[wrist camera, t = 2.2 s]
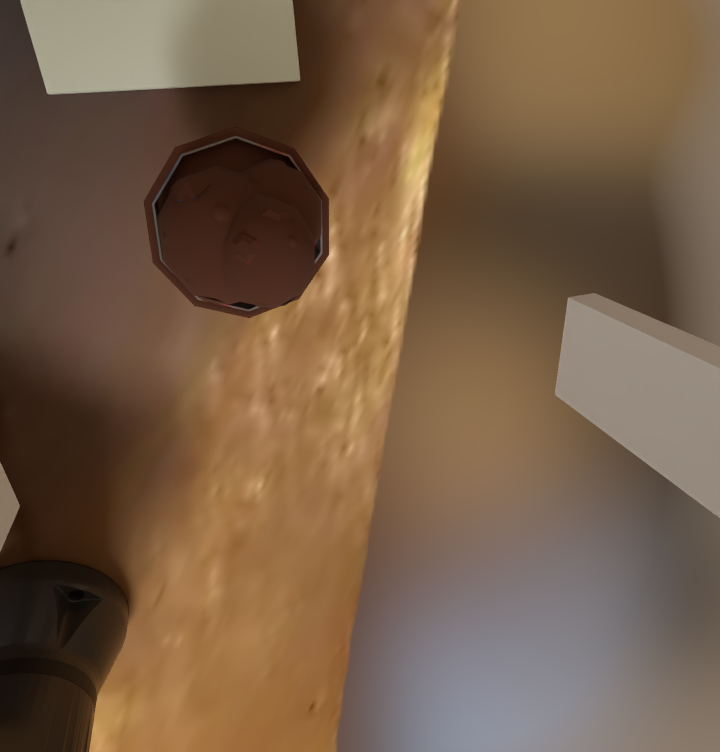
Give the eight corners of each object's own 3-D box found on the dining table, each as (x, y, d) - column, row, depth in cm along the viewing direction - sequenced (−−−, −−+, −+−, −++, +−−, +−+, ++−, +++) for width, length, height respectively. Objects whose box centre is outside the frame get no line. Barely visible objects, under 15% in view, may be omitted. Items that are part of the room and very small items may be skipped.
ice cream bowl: (298, 126, 38) (355, 130, 25) (302, 275, 43) (351, 342, 30) (144, 123, 36) (120, 125, 23) (167, 283, 40) (158, 360, 28)
